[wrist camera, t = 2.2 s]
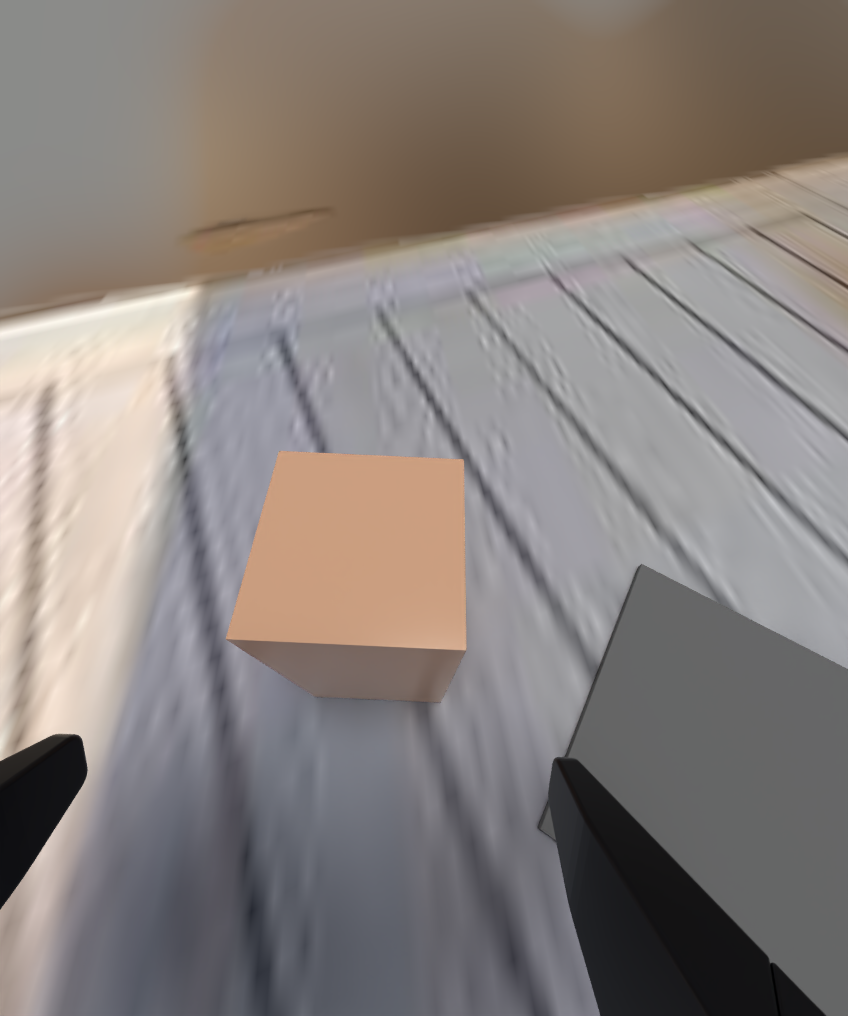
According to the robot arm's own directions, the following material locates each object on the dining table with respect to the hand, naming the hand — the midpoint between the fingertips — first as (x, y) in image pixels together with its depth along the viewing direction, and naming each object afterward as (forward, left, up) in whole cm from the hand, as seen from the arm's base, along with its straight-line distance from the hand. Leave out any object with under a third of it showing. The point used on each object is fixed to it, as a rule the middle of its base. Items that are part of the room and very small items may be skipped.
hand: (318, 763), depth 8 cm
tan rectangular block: (+5, +3, -12) cm, 14 cm away
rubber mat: (+9, -14, -12) cm, 21 cm away
